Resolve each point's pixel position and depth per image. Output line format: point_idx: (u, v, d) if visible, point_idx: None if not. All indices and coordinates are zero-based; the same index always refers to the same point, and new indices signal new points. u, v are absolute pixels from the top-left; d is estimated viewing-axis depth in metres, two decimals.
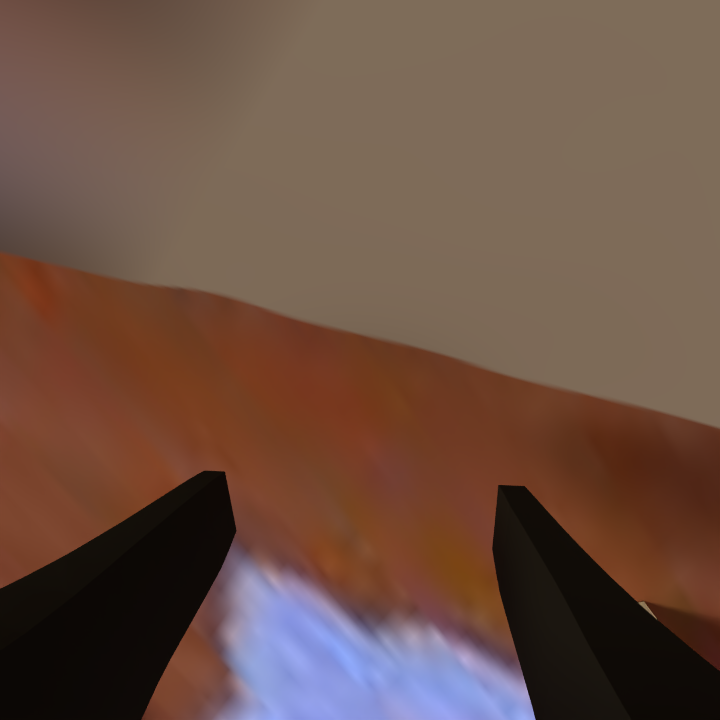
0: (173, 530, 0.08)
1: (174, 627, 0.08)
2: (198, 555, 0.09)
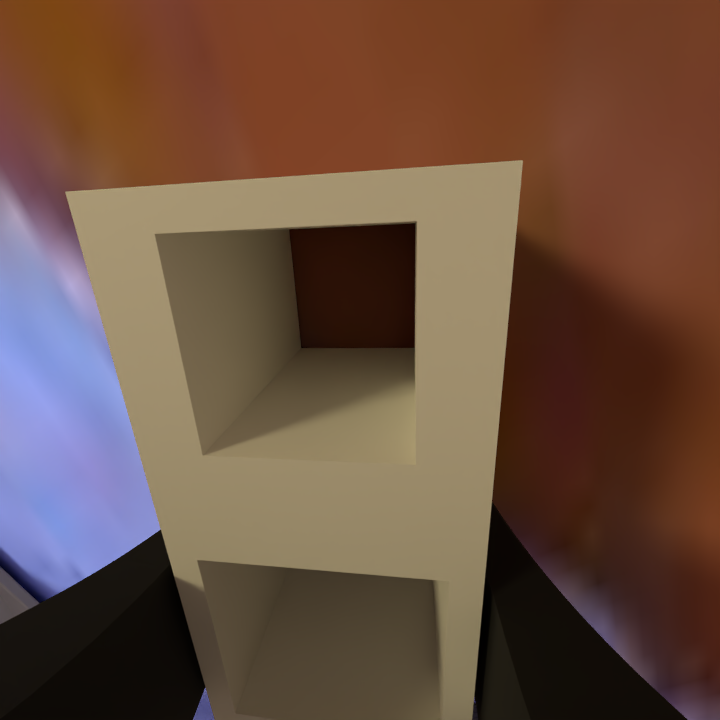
0: None
1: None
2: None
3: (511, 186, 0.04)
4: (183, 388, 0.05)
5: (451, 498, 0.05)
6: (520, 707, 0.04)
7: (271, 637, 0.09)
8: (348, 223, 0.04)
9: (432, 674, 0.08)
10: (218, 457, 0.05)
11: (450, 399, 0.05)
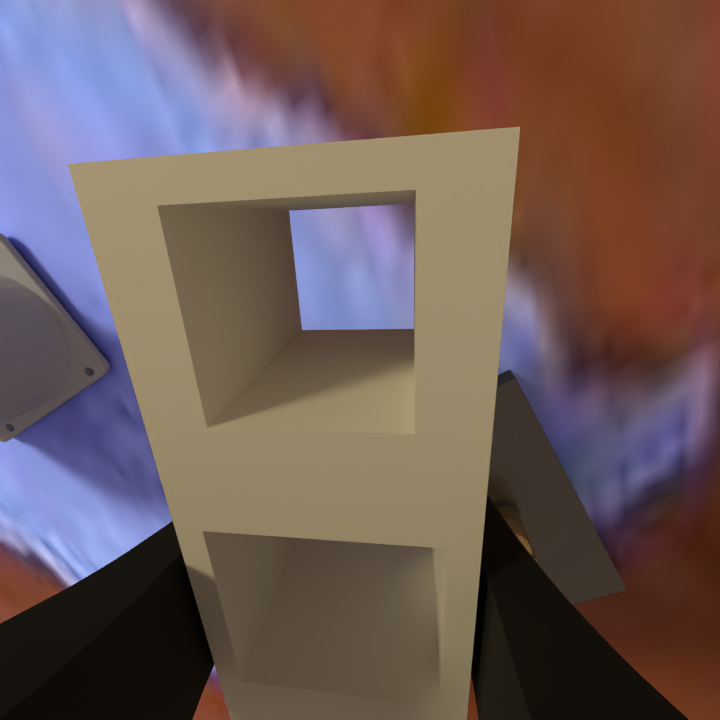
0: None
1: None
2: None
3: (509, 153, 0.04)
4: (187, 361, 0.05)
5: (450, 467, 0.05)
6: (521, 707, 0.04)
7: (275, 611, 0.09)
8: (348, 193, 0.04)
9: (431, 644, 0.08)
10: (222, 429, 0.05)
11: (449, 368, 0.05)
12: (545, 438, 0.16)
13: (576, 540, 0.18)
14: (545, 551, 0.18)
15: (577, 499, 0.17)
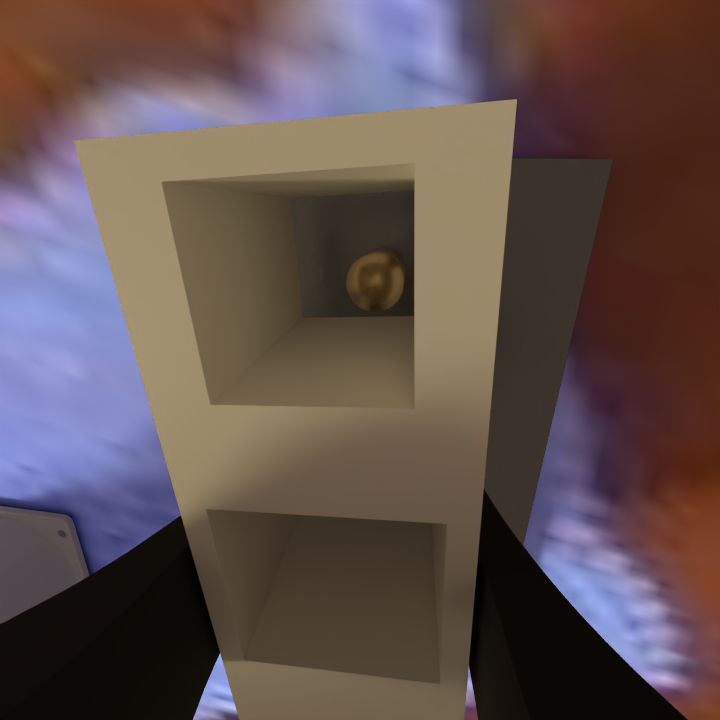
0: None
1: None
2: None
3: (506, 126, 0.04)
4: (191, 337, 0.05)
5: (449, 441, 0.05)
6: (520, 707, 0.04)
7: (277, 593, 0.09)
8: (349, 167, 0.04)
9: (431, 625, 0.08)
10: (225, 406, 0.06)
11: (447, 342, 0.05)
12: None
13: None
14: None
15: None
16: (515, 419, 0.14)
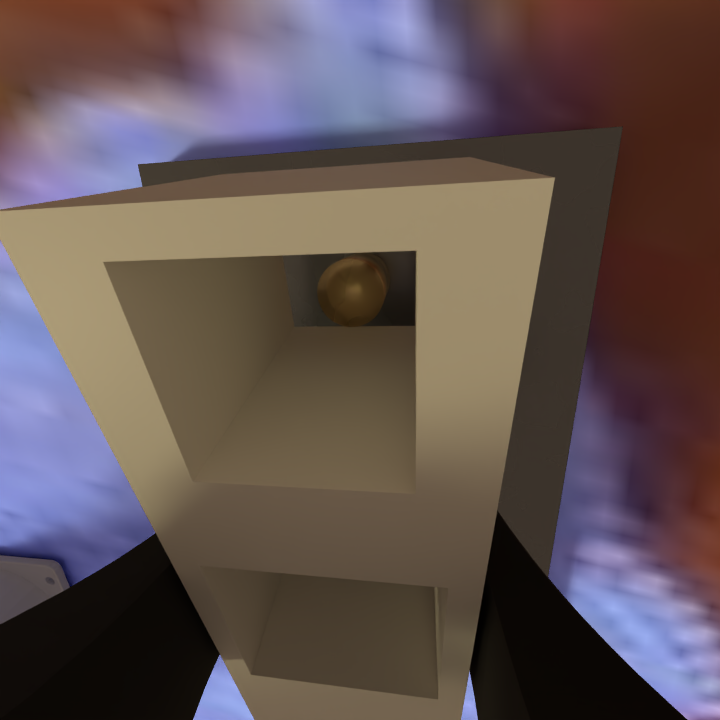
0: None
1: None
2: None
3: (538, 210, 0.03)
4: (163, 420, 0.05)
5: (452, 523, 0.05)
6: (520, 707, 0.04)
7: (280, 603, 0.09)
8: (334, 251, 0.03)
9: (430, 636, 0.09)
10: (209, 482, 0.05)
11: (454, 436, 0.04)
12: (242, 158, 0.10)
13: None
14: None
15: (370, 149, 0.10)
16: (529, 434, 0.12)
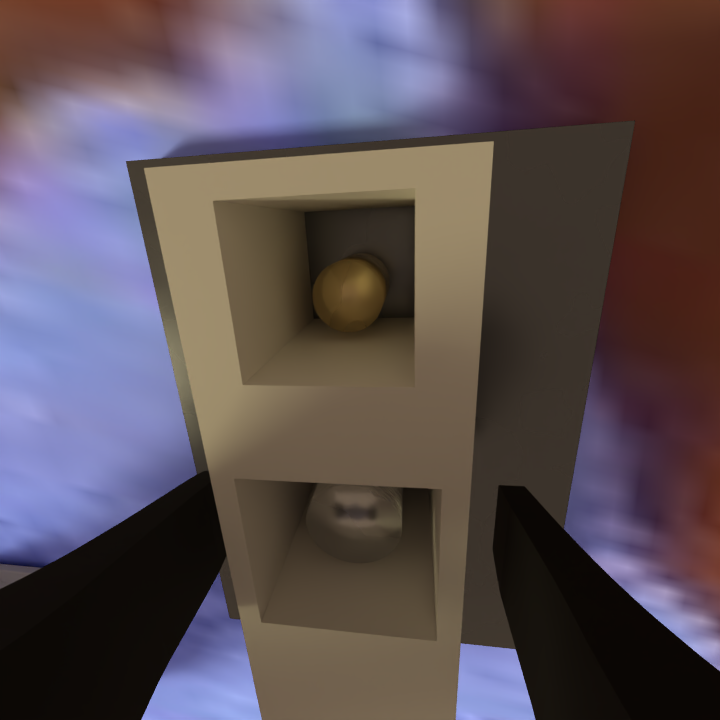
0: (173, 530, 0.08)
1: (174, 627, 0.08)
2: (198, 555, 0.09)
3: (485, 161, 0.05)
4: (229, 327, 0.06)
5: (443, 415, 0.06)
6: None
7: (289, 568, 0.10)
8: (363, 190, 0.05)
9: (429, 594, 0.09)
10: (255, 386, 0.07)
11: (441, 331, 0.06)
12: (234, 155, 0.10)
13: None
14: None
15: (369, 145, 0.09)
16: (534, 442, 0.12)
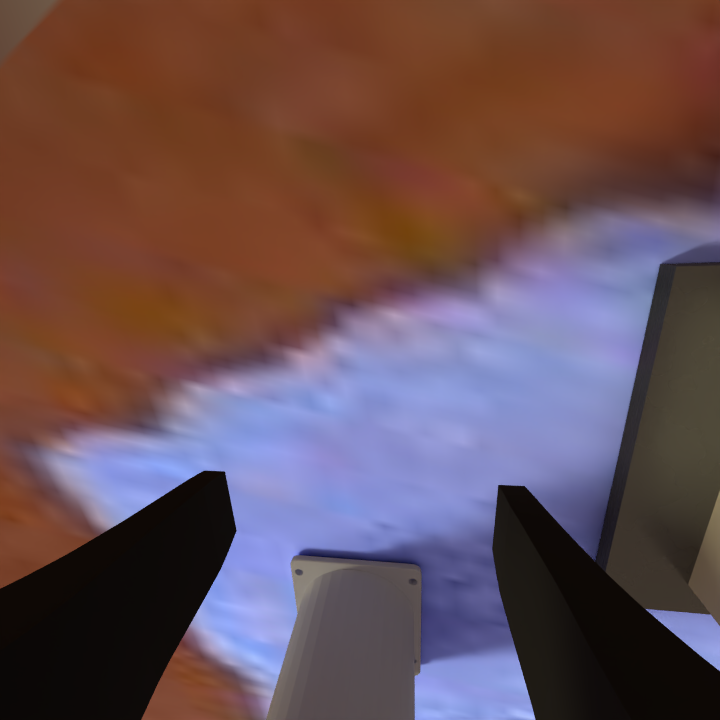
0: (173, 530, 0.08)
1: (174, 627, 0.08)
2: (198, 555, 0.09)
3: None
4: None
5: None
6: None
7: None
8: None
9: None
10: None
11: None
12: None
13: None
14: None
15: None
16: None
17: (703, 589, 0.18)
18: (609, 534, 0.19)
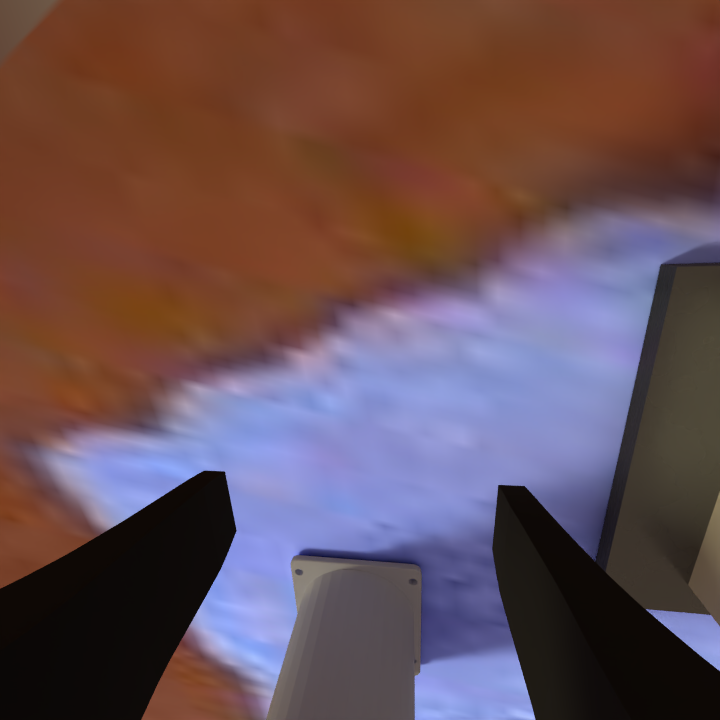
0: (173, 530, 0.08)
1: (174, 627, 0.08)
2: (198, 555, 0.09)
3: None
4: None
5: None
6: None
7: None
8: None
9: None
10: None
11: None
12: None
13: None
14: None
15: None
16: None
17: (703, 589, 0.18)
18: (609, 534, 0.19)
